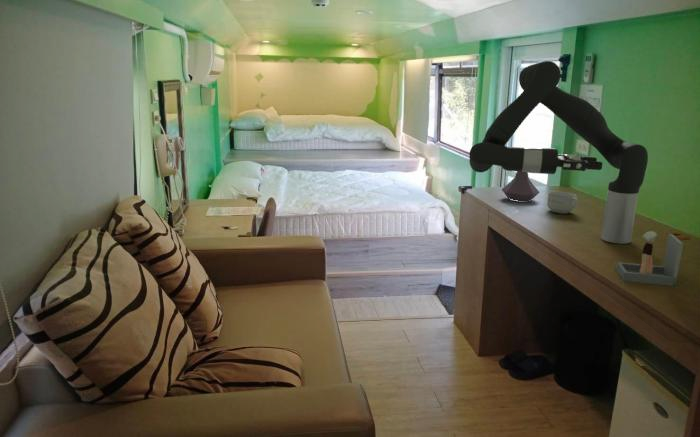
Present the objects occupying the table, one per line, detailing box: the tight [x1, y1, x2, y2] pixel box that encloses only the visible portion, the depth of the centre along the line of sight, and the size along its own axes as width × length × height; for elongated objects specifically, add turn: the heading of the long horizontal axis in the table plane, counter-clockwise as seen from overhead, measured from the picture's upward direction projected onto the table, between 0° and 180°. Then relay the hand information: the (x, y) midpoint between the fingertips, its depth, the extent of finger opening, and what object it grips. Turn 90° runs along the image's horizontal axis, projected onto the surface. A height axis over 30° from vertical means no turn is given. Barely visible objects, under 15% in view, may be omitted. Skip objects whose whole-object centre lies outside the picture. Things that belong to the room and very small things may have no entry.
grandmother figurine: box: [639, 230, 658, 274], centre depth 145 cm, size 8×4×13 cm, turn 157°
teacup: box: [547, 191, 580, 214], centre depth 216 cm, size 14×11×8 cm
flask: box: [501, 171, 541, 202], centre depth 236 cm, size 16×16×20 cm
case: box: [615, 233, 684, 287], centre depth 146 cm, size 9×13×12 cm
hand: (598, 163), depth 151 cm, fingers open, 8 cm apart
